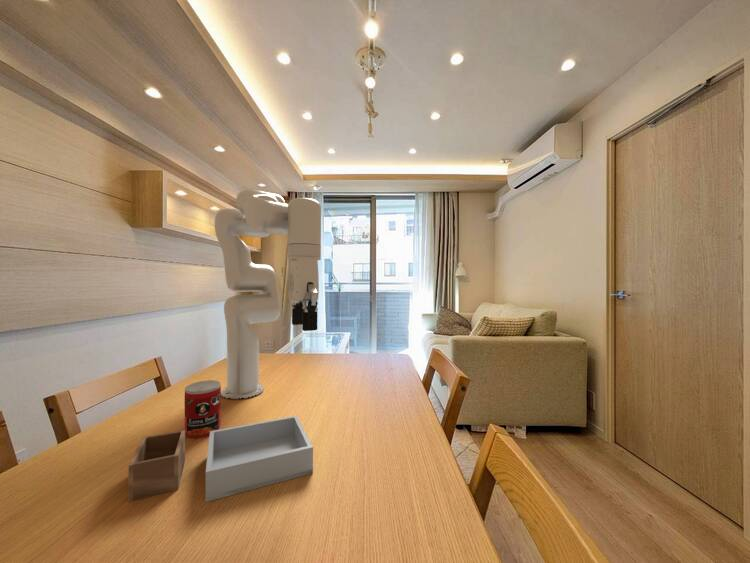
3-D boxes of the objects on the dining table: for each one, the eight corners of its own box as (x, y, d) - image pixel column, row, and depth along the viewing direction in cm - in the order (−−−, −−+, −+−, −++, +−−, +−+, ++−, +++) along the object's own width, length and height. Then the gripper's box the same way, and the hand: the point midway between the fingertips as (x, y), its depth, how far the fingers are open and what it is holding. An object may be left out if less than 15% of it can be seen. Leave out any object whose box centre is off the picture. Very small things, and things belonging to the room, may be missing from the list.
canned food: (183, 442, 70) (183, 393, 70) (186, 426, 77) (186, 382, 77) (220, 434, 73) (221, 388, 73) (220, 420, 80) (220, 378, 80)
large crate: (209, 455, 65) (209, 431, 64) (296, 436, 72) (296, 415, 72) (205, 502, 51) (205, 472, 51) (312, 473, 59) (313, 447, 59)
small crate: (143, 467, 60) (143, 437, 60) (185, 459, 63) (185, 429, 63) (128, 501, 51) (128, 465, 51) (178, 489, 54) (178, 455, 54)
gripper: (280, 255, 77) (280, 323, 77) (297, 249, 62) (296, 334, 62) (309, 256, 81) (309, 321, 81) (332, 251, 65) (332, 331, 66)
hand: (303, 327), depth 71 cm, fingers open, 9 cm apart
